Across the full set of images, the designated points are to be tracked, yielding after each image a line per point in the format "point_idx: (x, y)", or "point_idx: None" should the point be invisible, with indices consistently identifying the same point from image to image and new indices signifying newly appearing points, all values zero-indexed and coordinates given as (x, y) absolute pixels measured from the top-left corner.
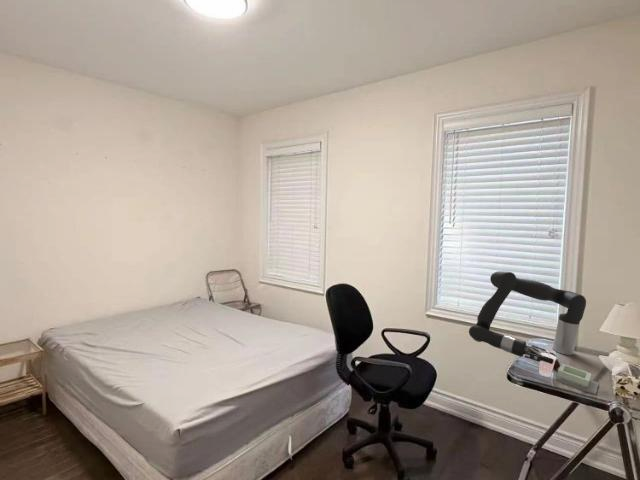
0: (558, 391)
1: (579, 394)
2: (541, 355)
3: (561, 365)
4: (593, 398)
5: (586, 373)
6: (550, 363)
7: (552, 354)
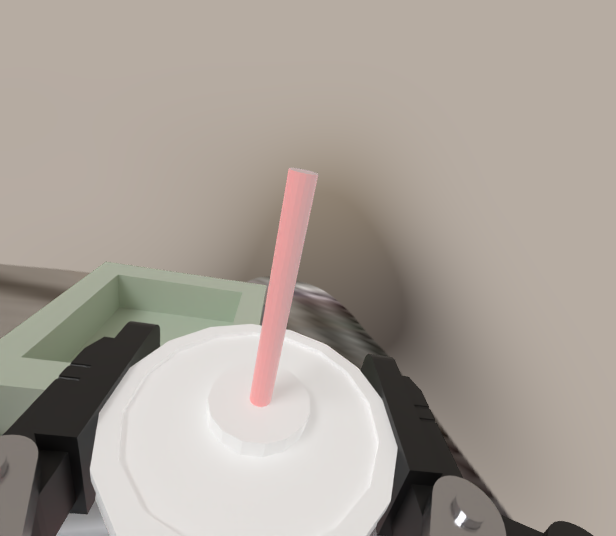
0: (458, 449)
1: (352, 362)
2: (484, 518)
3: (37, 384)
4: (328, 325)
5: (117, 278)
6: None
7: (139, 351)
